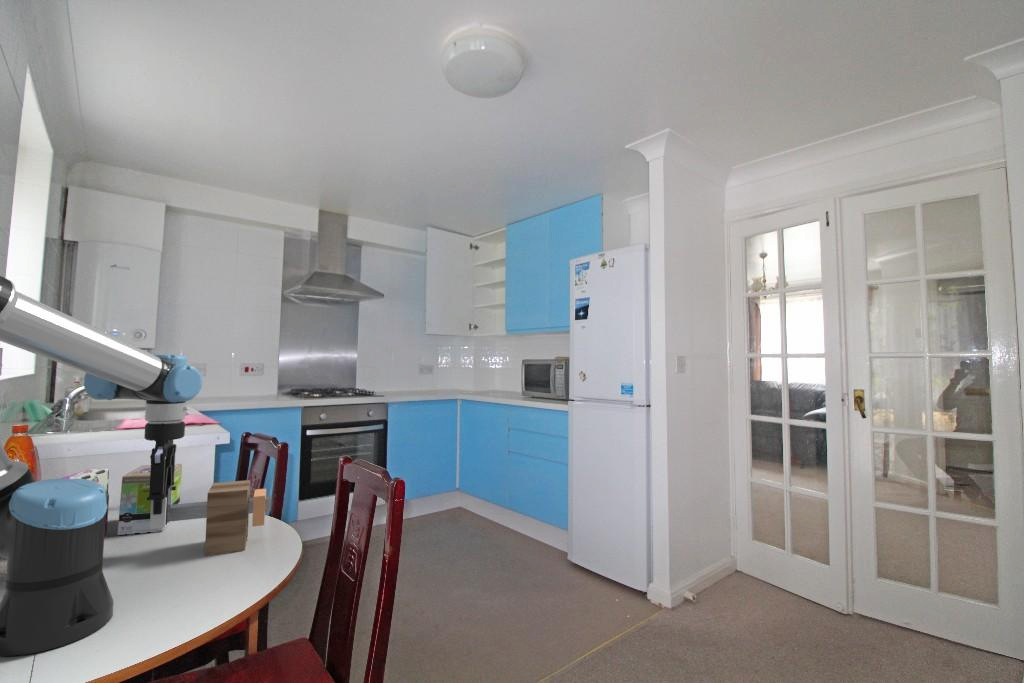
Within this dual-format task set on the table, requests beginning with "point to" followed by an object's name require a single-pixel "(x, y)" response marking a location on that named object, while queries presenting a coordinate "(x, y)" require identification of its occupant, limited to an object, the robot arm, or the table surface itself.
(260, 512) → the spacer
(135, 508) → the tea box
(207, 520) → the bearing block
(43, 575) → the robot arm
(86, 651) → the table surface
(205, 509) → the shaft
